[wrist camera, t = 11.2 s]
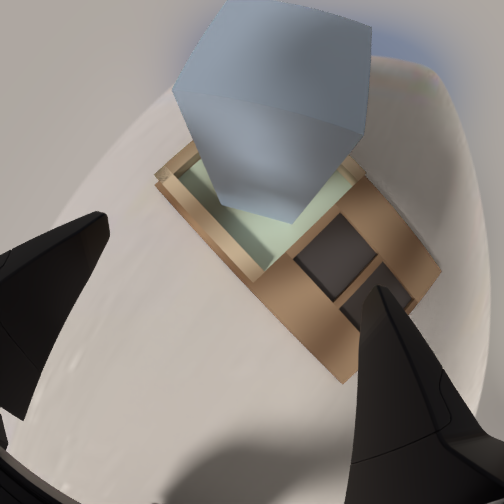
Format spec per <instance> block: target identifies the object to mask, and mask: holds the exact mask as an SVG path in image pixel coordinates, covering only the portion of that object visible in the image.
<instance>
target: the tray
mask: <svg viewBox="0 0 504 504" xmlns="http://www.w3.org/2000/svg"><path fill="white" fill-rule="evenodd" d="M365 174H366V172H365V171H364V170H363V169H362V168H361V167H360V166H359V165H358V163H357V162H356V161H355V160H354V159H353V158H352V157H351V156H350V155H348V156H347V157H346V158H345V160H344V161H343V162H342V163H341V165H340V166H339V167H338V168H337V170H336V171H335V172H334V173H333V175H332V176H331V177H330V178H329V179H328V181H327V182H326V183H325V184H324V186H323V187H322V188H321V189H320V191H319V192H318V193H317V194H316V196H315V197H314V198H313V199H312V201H311V202H310V203H309V204H308V205H307V207H306V208H305V209H304V210H303V212H302V213H301V214H300V215H299V216H298V218H297V219H296V220H295V221H294V223H293V224H289V223H285V222H282V221H278V220H275V219H271V218H268V217H264V216H260V215H257V214H253V213H249V212H246V211H242V210H238V209H234V208H231V207H227V206H223V205H221V203H220V201H219V198H218V196H217V194H216V191H215V189H214V187H213V185H212V182H211V180H210V178H209V175H208V173H207V171H206V168H205V166H204V164H203V162H202V159H201V157H200V155H199V152H198V150H197V148H196V145H195V143H194V141H191V142H190V143H189V144H188V145H187V146H186V147H184V148H183V149H182V150H181V151H180V152H179V153H177V154H176V155H175V156H174V157H173V158H172V159H171V160H169V161H168V162H167V163H166V164H165V165H164V166H163V167H162V168H161V169H160V170H158V171H157V172H156V173H155V174H154V175H155V177H156V178H157V179H158V180H159V181H158V182H157V183H156V184H155V186H156V187H157V189H158V190H159V191H160V192H161V193H162V194H163V195H164V197H165V198H166V199H167V200H168V201H169V202H170V203H171V204H172V206H173V207H174V208H175V209H176V210H177V211H178V212H179V213H180V214H181V216H182V217H183V218H184V219H185V220H186V221H187V222H188V223H189V224H190V226H191V227H192V228H193V229H194V230H195V231H196V232H197V233H198V234H199V236H200V237H201V238H202V239H203V240H204V241H205V242H206V243H207V244H208V245H209V246H210V248H211V249H212V250H213V251H214V252H215V253H216V254H217V255H218V256H219V257H220V258H221V259H222V261H223V262H224V263H225V264H226V265H227V266H228V267H229V268H230V269H231V270H232V271H233V272H234V273H235V275H236V276H237V277H238V278H239V279H240V280H241V281H242V282H243V283H244V284H245V285H246V286H247V287H248V288H249V289H250V290H251V292H252V293H253V294H254V295H255V296H256V297H257V298H258V299H259V300H260V301H261V302H262V303H263V304H264V305H265V306H266V307H267V308H268V309H269V310H270V311H271V312H272V313H273V315H274V316H275V317H276V318H277V319H278V320H279V321H280V322H281V323H282V324H283V325H284V326H285V327H286V328H287V329H288V330H289V331H290V332H291V333H292V334H293V335H294V336H295V337H296V338H297V339H298V340H299V341H300V342H301V343H302V344H303V345H304V346H305V347H306V348H307V349H308V350H309V351H310V352H311V353H312V354H313V355H314V356H315V357H316V358H317V359H318V360H319V361H320V362H321V363H322V364H323V365H324V366H325V367H326V368H327V369H328V370H329V371H330V372H331V373H332V374H333V375H334V376H335V377H336V378H337V379H338V380H339V381H340V382H341V383H342V384H344V383H345V382H346V381H347V380H348V379H349V378H350V377H351V376H352V375H353V374H354V373H355V372H357V371H358V348H359V337H360V327H361V316H362V306H363V302H364V300H365V299H366V297H367V296H368V294H369V293H370V291H371V290H372V288H373V287H374V286H375V285H377V284H379V285H382V286H386V287H388V288H389V290H390V291H391V292H392V294H393V295H394V296H395V298H396V299H397V300H398V302H399V303H400V305H401V306H402V307H403V309H404V310H405V312H406V313H407V314H408V315H409V314H410V313H411V311H412V310H413V309H414V308H415V306H416V305H417V304H418V303H419V301H420V300H421V299H422V298H423V296H424V295H425V294H426V292H427V291H428V290H429V288H430V287H431V286H432V284H433V283H434V282H435V280H436V279H437V277H438V276H439V275H440V273H441V272H442V271H441V270H440V268H439V267H438V265H437V264H436V262H435V261H434V260H433V258H432V257H431V255H430V254H429V253H428V251H427V250H426V248H425V247H424V246H423V244H422V243H421V242H420V240H419V239H418V238H417V236H416V235H415V234H414V233H413V231H412V230H411V229H410V227H409V226H408V225H407V224H406V222H405V221H404V220H403V219H402V218H401V216H400V215H399V214H398V213H397V211H396V210H395V209H394V208H393V207H392V206H391V204H390V203H389V202H388V201H387V200H386V199H385V197H384V196H383V195H382V194H381V193H380V192H379V191H378V189H377V188H376V187H375V186H374V185H373V184H372V183H371V182H370V181H369V180H368V178H367V177H366V176H365Z"/></svg>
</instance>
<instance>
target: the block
mask: <svg viewBox="0 0 504 504" xmlns="http://www.w3.org/2000/svg"><path fill="white" fill-rule="evenodd" d="M371 36H372V28H371V27H370V26H367V25H365V24H362V23H359V22H356V21H353V20H351V19H347V18H344V17H341V16H338V15H335V14H331V13H328V12H324V11H321V10H317V9H313V8H309V7H305V6H300V5H296V4H291V3H286V2H281V1H274V0H227V1H226V3H225V4H224V5H223V7H222V8H221V10H220V11H219V12H218V14H217V15H216V17H215V18H214V20H213V21H212V23H211V24H210V25H209V27H208V28H207V30H206V32H205V33H204V35H203V36H202V38H201V39H200V41H199V43H198V44H197V46H196V47H195V49H194V51H193V52H192V54H191V56H190V57H189V59H188V61H187V63H186V65H185V66H184V68H183V70H182V72H181V73H180V75H179V77H178V79H177V81H176V83H175V84H174V86H173V88H172V92H173V94H174V96H175V99H176V101H177V103H178V106H179V108H180V110H181V113H182V115H183V117H184V120H185V122H186V124H187V127H188V129H189V131H190V134H191V136H192V138H193V141H194V143H195V145H196V148H197V150H198V152H199V155H200V157H201V159H202V162H203V164H204V166H205V168H206V171H207V173H208V175H209V178H210V180H211V182H212V185H213V187H214V189H215V191H216V194H217V196H218V198H219V201H220V203H221V205H223V206H227V207H231V208H234V209H238V210H242V211H246V212H249V213H253V214H257V215H260V216H264V217H268V218H271V219H275V220H278V221H282V222H285V223H289V224H293V223H294V221H295V220H296V219H297V218H298V216H299V215H300V214H301V213H302V212H303V210H304V209H305V208H306V207H307V205H308V204H309V203H310V202H311V201H312V199H313V198H314V197H315V196H316V194H317V193H318V192H319V191H320V189H321V188H322V187H323V186H324V184H325V183H326V182H327V181H328V179H329V178H330V177H331V176H332V175H333V173H334V172H335V171H336V170H337V168H338V167H339V166H340V165H341V163H342V162H343V161H344V160H345V158H346V157H347V156H348V155H349V153H350V152H351V151H352V150H353V148H354V147H355V146H356V144H357V143H358V142H359V141H360V139H361V138H362V137H363V136H364V130H365V122H366V113H367V103H368V92H369V79H370V63H371V38H372V37H371Z"/></svg>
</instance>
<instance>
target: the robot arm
mask: <svg viewBox="0 0 504 504" xmlns="http://www.w3.org/2000/svg"><path fill="white" fill-rule="evenodd" d="M109 237H110V230H109V223H108V217H107V215H106V214H105V213H103V212H99V211H95V212H92V213H90V214H87V215H85V216H83V217H80V218H78V219H75V220H73V221H71V222H68V223H66V224H64V225H61V226H59V227H57V228H55V229H52V230H50V231H48V232H46V233H44V234H42V235H40V236H37V237H35V238H33V239H31V240H29V241H27V242H25V243H23V244H21V245H19V246H17V247H15V248H13V249H12V250H9V251H7V252H5V253H3V254H2V255H0V408H1V407H2V408H3V409H5V410H6V411H8V412H9V413H11V414H12V415H14V416H16V417H17V418H19V419H20V420H22V421H24V419H25V416H26V413H27V410H28V407H29V405H30V402H31V399H32V396H33V394H34V391H35V388H36V386H37V383H38V381H39V378H40V376H41V372H42V371H43V368H44V366H45V364H46V361H47V359H48V357H49V355H50V352H51V350H52V348H53V346H54V344H55V342H56V339H57V337H58V335H59V333H60V331H61V329H62V327H63V325H64V323H65V321H66V319H67V317H68V316H69V314H70V312H71V310H72V308H73V306H74V304H75V302H76V301H77V299H78V297H79V295H80V293H81V292H82V290H83V288H84V286H85V285H86V283H87V281H88V280H89V278H90V276H91V274H92V272H93V270H94V268H95V266H96V264H97V262H98V260H99V258H100V256H101V254H102V252H103V250H104V248H105V246H106V244H107V242H108V240H109ZM442 368H443V367H442V365H441V364H440V362H439V361H438V359H437V358H436V356H435V354H434V353H433V351H432V350H431V348H430V347H429V345H428V344H427V342H426V341H425V339H424V338H423V336H422V335H421V333H420V332H419V330H418V329H417V327H416V326H415V324H414V323H413V322H412V320H411V319H410V317H409V316H408V314H407V313H406V312H405V310H404V309H403V307H402V306H401V305H400V303H399V302H398V300H397V299H396V298H395V296H394V295H393V294H392V292H391V291H390V290H389V288H388V287H386V286H382V285H379V284H377V285H375V286H374V287H373V288H372V290H371V291H370V293H369V294H368V296H367V297H366V299H365V300H364V302H363V306H362V316H361V327H360V337H359V348H358V387H357V406H356V420H355V432H354V442H353V451H352V459H351V465H350V473H349V479H348V485H347V491H346V497H345V502H344V504H504V442H503V441H501V440H498V439H496V438H494V437H491V436H490V435H488V434H487V433H486V432H485V431H484V430H483V429H482V428H481V426H480V425H479V424H478V422H477V420H476V419H475V417H474V416H473V414H472V412H471V411H470V409H469V408H468V406H467V405H466V403H465V402H464V400H463V399H462V397H461V396H460V394H459V393H458V391H457V390H456V388H455V387H454V385H453V383H452V382H451V380H450V379H449V377H448V375H447V374H446V372H445V370H444V369H442ZM7 446H8V440H7V437H6V433H5V429H4V425H3V420H2V416H1V414H0V504H81V503H79V502H77V501H75V500H74V499H72V498H70V497H69V496H67V495H65V494H64V493H62V492H60V491H59V490H57V489H56V488H54V487H53V486H51V485H50V484H48V483H47V482H45V481H44V480H42V479H41V478H39V477H38V476H37V475H35V474H34V473H33V472H31V471H30V470H29V469H27V468H26V467H25V466H23V465H22V464H21V463H20V462H18V461H17V460H16V459H15V458H13V457H12V456H11V455H10V454H9V453H8V452H6V449H7Z"/></svg>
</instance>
